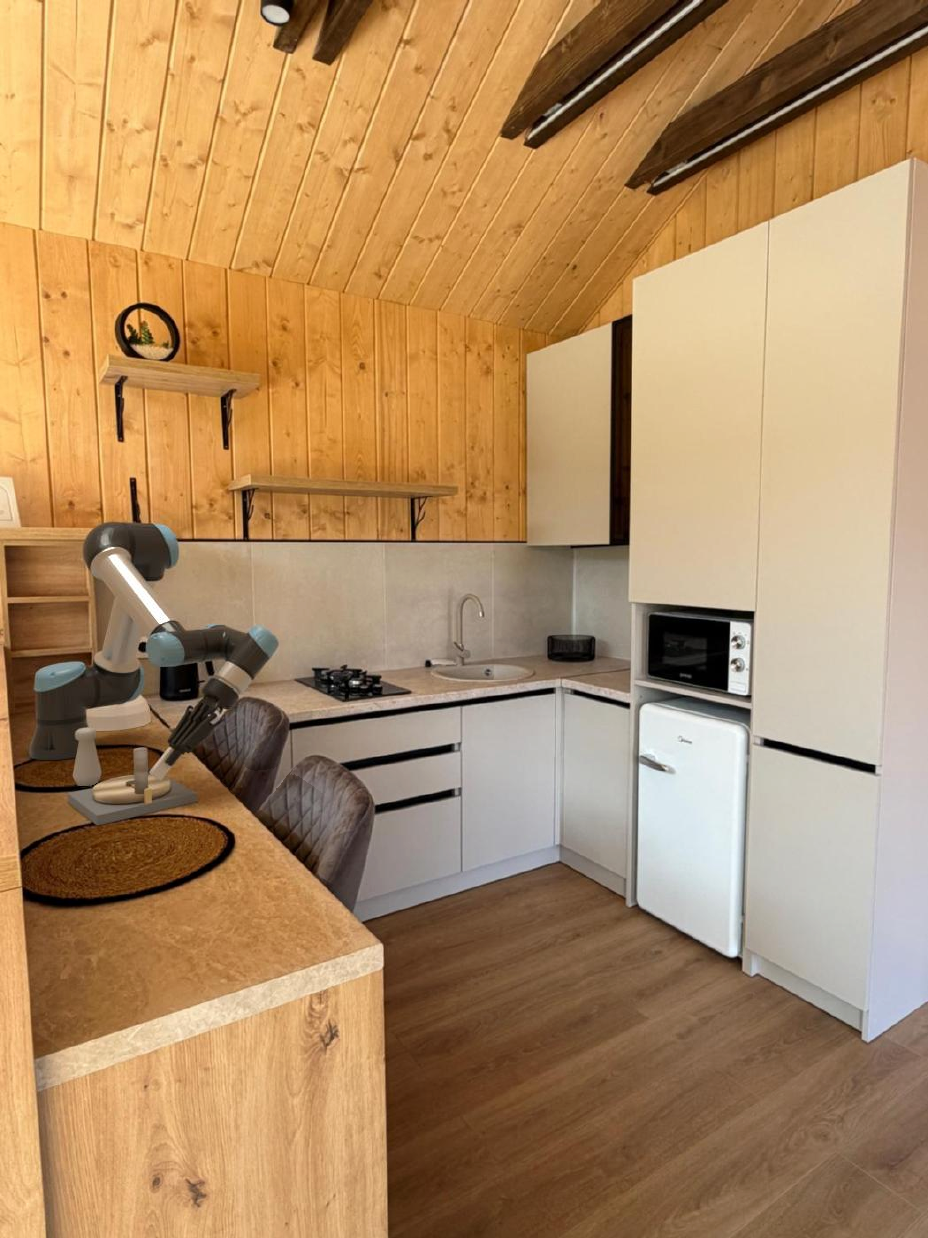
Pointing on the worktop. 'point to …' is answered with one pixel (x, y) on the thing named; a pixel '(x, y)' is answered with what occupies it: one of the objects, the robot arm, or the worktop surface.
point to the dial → (131, 784)
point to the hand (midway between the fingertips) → (154, 776)
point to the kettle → (119, 716)
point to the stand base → (130, 804)
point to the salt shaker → (86, 758)
